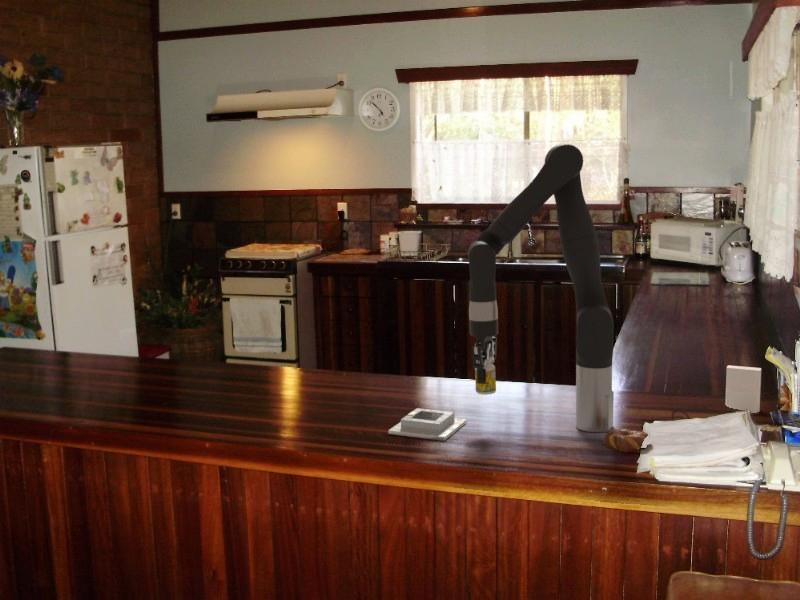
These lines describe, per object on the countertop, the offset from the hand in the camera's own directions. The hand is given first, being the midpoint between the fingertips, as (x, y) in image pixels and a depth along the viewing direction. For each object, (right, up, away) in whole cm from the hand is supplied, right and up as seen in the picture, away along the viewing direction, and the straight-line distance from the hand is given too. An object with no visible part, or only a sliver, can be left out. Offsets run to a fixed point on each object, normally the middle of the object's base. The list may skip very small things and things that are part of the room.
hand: (485, 379), depth 238 cm
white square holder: (-15, -13, +3) cm, 20 cm away
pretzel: (+34, -16, -14) cm, 40 cm away
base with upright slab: (+73, -10, +13) cm, 75 cm away
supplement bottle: (0, -4, +1) cm, 4 cm away
